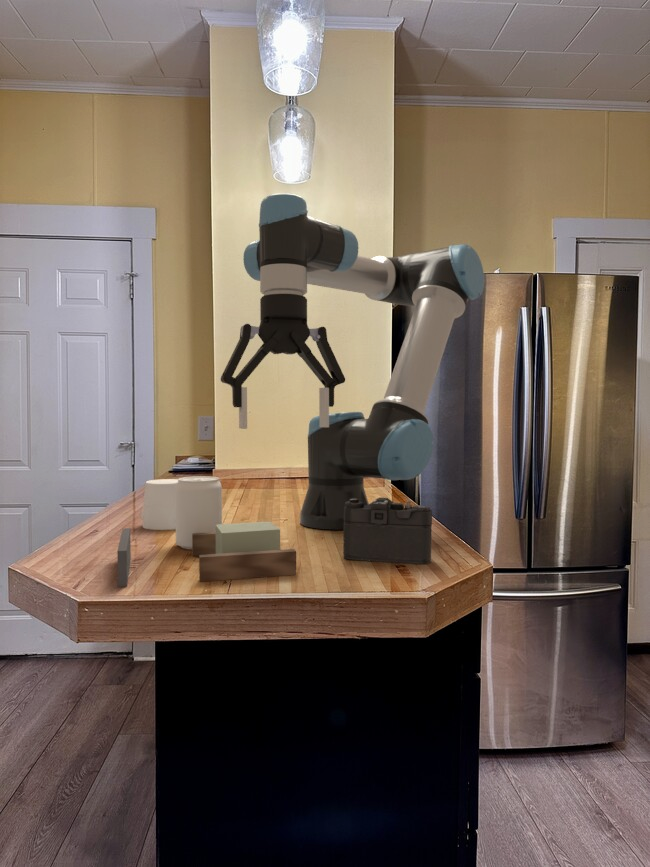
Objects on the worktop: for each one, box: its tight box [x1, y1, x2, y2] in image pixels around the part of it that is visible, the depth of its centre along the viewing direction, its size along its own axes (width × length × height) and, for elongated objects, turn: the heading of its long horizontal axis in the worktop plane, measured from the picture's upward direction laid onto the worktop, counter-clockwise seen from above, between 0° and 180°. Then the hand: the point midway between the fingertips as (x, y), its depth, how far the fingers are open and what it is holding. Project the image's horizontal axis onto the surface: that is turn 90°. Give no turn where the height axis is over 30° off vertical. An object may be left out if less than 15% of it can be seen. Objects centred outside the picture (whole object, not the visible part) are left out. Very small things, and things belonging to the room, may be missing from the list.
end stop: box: [116, 527, 132, 588], centre depth 94 cm, size 1×16×5 cm, turn 15°
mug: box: [140, 478, 179, 531], centre depth 128 cm, size 12×9×8 cm
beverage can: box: [175, 475, 223, 550], centre depth 111 cm, size 8×8×12 cm
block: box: [215, 520, 281, 554], centre depth 99 cm, size 9×7×6 cm
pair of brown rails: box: [191, 532, 297, 583], centre depth 99 cm, size 14×17×4 cm
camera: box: [342, 497, 433, 565], centre depth 104 cm, size 14×11×10 cm
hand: (284, 428), depth 101 cm, fingers open, 13 cm apart
